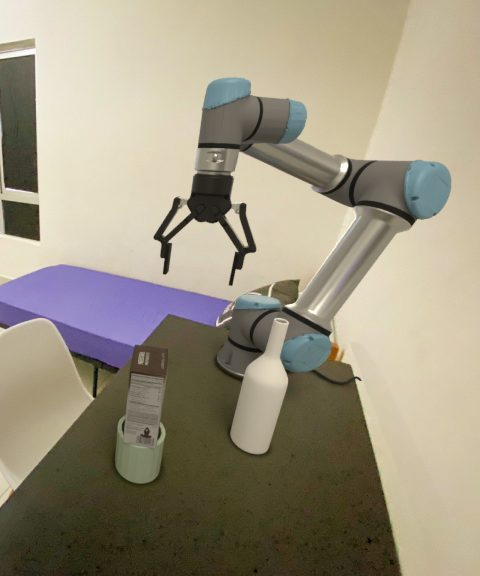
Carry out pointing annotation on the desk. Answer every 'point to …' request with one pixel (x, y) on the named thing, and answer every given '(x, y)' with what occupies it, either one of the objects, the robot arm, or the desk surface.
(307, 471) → the desk surface
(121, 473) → the cup
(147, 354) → the coffee box
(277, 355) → the bottle
